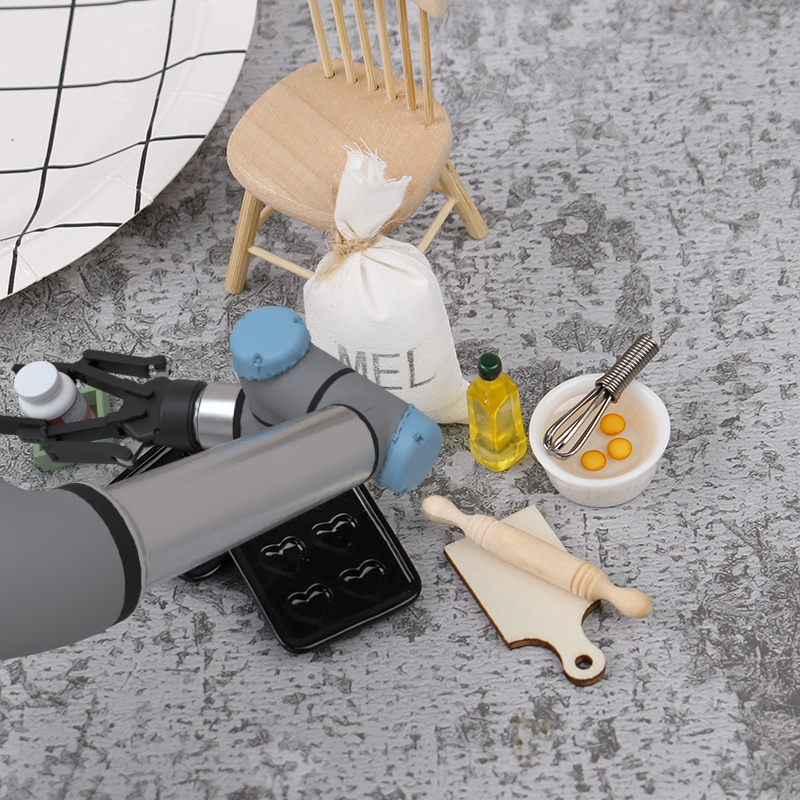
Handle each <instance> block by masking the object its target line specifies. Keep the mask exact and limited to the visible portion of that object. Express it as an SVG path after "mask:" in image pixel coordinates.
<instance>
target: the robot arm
mask: <svg viewBox="0 0 800 800" xmlns="http://www.w3.org/2000/svg"><path fill="white" fill-rule="evenodd" d="M229 349H230V353H231V357H232V364H233V366H232V368H233V369H234V370H233V371H234V372H235V373H236V375H237V378H238V380H239V382H240V383H237V382H224V381H211V382H209V383H208V382H207V381H205V380H200V379H199V380H197V379H186V378H176V379H170V378H169V377H170V376H171V374H172V373H173V371H172V368H171V365H170V363H169V361H168V359H167V357H166V356H165V355H162V354H160V355H159V354H158V355H153V356H140V355H132V354H125V353H119V352H112V351H105V350H98V349H92V348H87V349H84V350H83V351H82V357H81V358H80V359H79V360H77V361H74V362H63V361H62V362H61V361H58V362H57V361H49V363H51V364H52V365H54V366H55V368H56V369H57V370H58V372H61V373H64V374H66V375H67V376H69V377H70V378H71V379H72V381H73V382H74V384H75V385H76V386H77V385H78V381H79V384H80V385H81V386H82V387H84V386H85V385H87V386H88V387H90V386H91V387H93V388H96V389H98V390H101V391H103V392H105V393H106V394H107V395H110V396H113V397H115V398H118V399H120V400H122V404H121V406H120V407H119V408H118V410H116V411H111V413H108V414H107V415H106V416H104V417H99V418H93V419H87V420H81V421H76V422H70V423H64V424H59V425H53V426H50V424H49V423H48V421H47V420H46V419H37V418H27V417H26V416H25V417H24V416H14V415H3V414H0V435H5V436H6V435H7V436H8V435H9V436H16V437H17V438H18V440H20V442H23V443H24V444H33V443H34V444H43V445H42V448H43V450H44V451H45V453H46V454H47V456H48V457H49V458H50V460H51V461H52V462H55V463H76V464H90V465H92V464H93V465H117V466H120V467H123V468H124V469H128V470H131V471H132V470H133V471H134V470H135V469H137V468H138V467H139V462H138V460H137V459H138V458H139V456H141V454H142V452H144V449H150V448H152V447H155V446H163V447H166V448H169V449H177V450H187V451H188V450H189V451H200V450H201V449H202V450H203V451H200V452H197V453H195V454H191V455H189V456H186V457H183V458H181V459H178V460H175V461H172V462H170V463H166V464H164V465H161V466H158V467H156V468H153V469H150V470H148V471H143V472H142V473H138V474H136V475H134V476H130V477H128V478H125V479H122V480H119V481H116V482H114V483H111V484H108V485H106V486H103V487H99V486H96V485H95V484H93V483H90V482H86V481H72V482H68V483H66V484H63V485H60V486H56V487H54V488H51V489H48V490H47V489H46V490H33V489H27V488H26V489H24V488H22V487H20V486H16V485H14V484H11V483H10V482H8V481H6V480H5V479H3V478H2V476H0V661H6V660H11V659H16V658H23V657H28V656H33V655H39V654H43V653H46V652H49V651H53V650H57V649H61V648H63V647H67V646H72V645H73V644H76V643H79V642H81V641H84V640H87V639H89V638H92V637H93V636H95V635H97V634H101V632H103V631H106V630H108V629H109V628H112V627H114V626H115V625H117V624H119V623H121V622H123V621H126V620H127V619H128V618H130V617H132V616H133V615H134V614H135V613H136V612H137V610H138V609H139V608H140V605H141V603H142V601H143V598H144V595H145V593H146V592H148V591H150V590H153V589H154V588H156V587H158V586H160V585H162V584H164V583H166V582H168V581H170V580H172V579H174V578H177V577H178V576H181V575H183V574H185V573H186V572H189V571H191V570H192V569H195V568H196V567H198V566H200V565H202V564H204V563H207V562H209V561H210V560H212V559H215V558H216V557H218V556H221V555H222V554H224V553H227V552H228V551H230V550H233V549H234V548H236V547H239V546H240V545H243V544H244V543H246V542H248V541H250V540H253V539H254V538H256V537H258V536H260V535H263V534H265V533H266V532H268V531H270V530H272V529H274V528H277V527H278V526H280V525H282V524H284V523H286V522H289V521H290V520H292V519H294V518H296V517H298V516H300V515H302V514H304V513H306V512H308V511H310V510H312V509H315V508H316V507H318V506H320V505H323V504H324V503H327V502H328V501H330V500H332V499H334V498H336V497H338V496H340V495H342V494H344V493H347V492H348V491H350V490H352V489H354V488H356V487H358V486H360V485H364V484H366V483H367V482H369V481H371V480H373V481H374V482H375V483H377V486H378V487H380V488H385V489H386V490H388V491H390V492H392V493H393V494H401V495H402V494H403V495H404V494H407V493H409V492H412V490H414V489H416V488H417V487H419V485H420V484H421V483H422V482H423V481H424V480H425V479H426V477H427V476H428V475H429V473H430V472H431V471H432V468H433V467H434V466H435V464H436V462H437V459H438V456H439V454H440V452H441V449H442V444H443V432H442V428H441V427H440V425H439V424H438V423H437V422H436V421H435V420H433V419H432V418H431V417H429V416H427V414H426V413H424V412H423V411H421V410H420V409H418V408H417V407H416V406H415V404H413V403H412V402H410V403H409V402H407V401H405V400H404V399H402V398H400V397H399V396H397V395H395V394H394V393H392V392H391V391H389V390H387V389H386V388H384V387H382V386H381V385H379V384H378V383H376V382H374V381H373V380H371V379H370V378H368V377H366V376H364V375H363V374H362V373H360V372H358V371H356V370H355V369H354V368H352V367H351V366H349V365H348V364H346V363H344V362H343V361H341V360H340V359H339V358H337V357H335V356H334V355H331V354H330V353H328V352H327V351H326V350H324V349H322V348H320V346H317V345H315V344H314V343H313V342H312V335H311V333H310V330H308V328H307V325H306V322H305V321H304V320H303V318H302V317H301V316H300V314H299V313H297V312H296V311H295V310H293V309H291V308H289V307H286V306H281V305H267V306H261V307H258V308H255V309H253V310H251V311H249V312H248V313H246V314H245V315H244V316H242V317H241V318H240V319H239V320H238V321H236V323H235V324H234V326H233V328H232V330H231V332H230V335H229ZM26 365H27V364H23V363H22V364H21V363H14V364H13V366H12V368H11V370H12V371H13V373H14V375H15V376H16V375H17V373H18V372H19V371H20V370H21V369H22V368H23V367H24V366H26ZM114 374H115V375H114ZM116 375H121V376H127V377H134V378H141V379H147V380H148V379H149V380H148V381H146V382H144V383H139V382H136V381H134V380H132V379H129V378H126V377H124V378H121V377H120V376H116ZM77 380H78V381H77ZM109 438H113V439H115V440H125V439H129V438H131V439H132V440H133V441H131V442H125V441H121V442H119V444H118V443H115V442H114V443H109V442H92V441H97V440H103V439H109Z"/></svg>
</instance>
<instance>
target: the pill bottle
mask: <svg viewBox="0 0 800 800" xmlns="http://www.w3.org/2000/svg"><path fill="white" fill-rule="evenodd" d="M49 362H50V361H49ZM49 362H48V361H45V360H36V361H33V362H30V363H28V364H25V365H26V366H24V367H23V368H22V369H21V370H20V371H19V372H18V373H17V375H16V374H15V377H14V379H13V387H14V390H15V393H16V394H17V395H18V406H19V408H20V410H21V412H22V413H23V415H24V416H25V417H26V418H37V419H46V420H47V421H48V423H49V424H50V426H53V425H59V424H64V423H70V422H76V421H81V420H87V419H93V418H96V417H95V415H94V413H93V412H92V410H91V409H90V407H89V406H88V404H87V402H86V401H85V399H84V398H83V396H82V395H81V393H80V391H79V390H78V389H79V388H78V386H77V385H75V384H74V382H73V381H72V379H71V378H70V377H69V376H67V375H66V374H64V373H61V372H58V370H57V369H56V368H55V366H54V365H52V364H51V363H49ZM92 442H93V441H92Z"/></svg>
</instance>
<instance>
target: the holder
mask: <svg viewBox="0 0 800 800" xmlns="http://www.w3.org/2000/svg"><path fill="white" fill-rule="evenodd" d="M78 390H79V391H80V393H81V395H82V396H83V398H84V399H85V401H86V402H87V404H88V406H89V407H90V409H91V410H92V412H93V413H94V415H95V417H96V418H99V417H104V416H106V415H107V414H108V413H111V412H112V411H111V401H110V398H109V396H108V393H105V392H103V391H101V390H98V389H96V388H93V387H91V386H87V387H83V388H78ZM93 442H109V443H115V442H114V438H109V439H103V440H97V441H93ZM32 445H33V446H32V448H33V449H32V450H33V459H34V460H35V462H36V463H37V464H38V466H39V467H40V468H41V470H42V471H43V472H48V471H52V470H56V469H60V468H64V467H68V466H71V465H75V464H77V463H55V462H52V461H51V460H50V458H49V457H48V456H47V454H46V453H45V451H44V450H43V448H42V445H43V444H34V443H32Z"/></svg>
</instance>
